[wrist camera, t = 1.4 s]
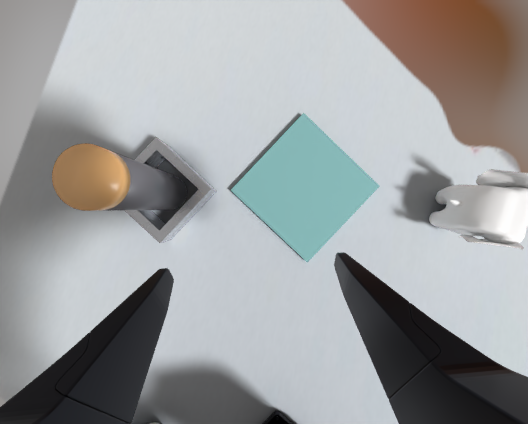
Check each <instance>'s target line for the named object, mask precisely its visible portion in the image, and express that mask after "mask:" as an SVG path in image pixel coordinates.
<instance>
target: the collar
mask: <svg viewBox="0 0 528 424" xmlns="http://www.w3.org/2000/svg"><path fill="white" fill-rule="evenodd" d="M165 159H167V160H168V161H169V162H170V163H171V164H172V165H173V166H175V167H176V168H177V169H178V170H179V171H180V172H181V173H182V174H183V175H184V176H185V177H186V178H187V179H188V180H189V181H191V182H192V183H193V184H194V185H195V186H196V187H197V188H198V191H197V192H196V193H195V194H194V195H193V196H192V197H191V198H190V199H189V200H188V201H187V202H186V203H185V204H184V205H183V206H182V207H181V209H180V210H179V211H178V212H177V213H176V214H175V215H174V216H173V217H172V218H171V219H170V220H169V221H168V222H167V223H166V224H165V223H164V222H163V221H162V220H161V219H160V218H159V217H158V216H157V215H155V214H154V213H153V212H152V211H151V210H125V211H126V212H127V213H128V214H129V215H130V216H131V217H132V218H133V219H134V220H135V221H136V222H137V223H139V224H140V225H141V226H142V227H143V228H144V229H145V230H146V231H147V232H148V233H149V234H150V235H151V236H153V237H154V238H155V239H156V240H157V241H158V242H159V243H162V242H165V241H168V240H171V239H172V238H173V237H174V236H175V235H176V234H177V233H178V232H179V231H180V230H181V228H182V227H183V226H184V225H185V224H186V223H187V222H188V221H189V220H190V219H191V218H192V217H193V216H194V215H195V214H196V213H197V212H198V210H199V209H200V208H201V207H202V206H203V205H204V204H205V203H206V202H207V201H208V200H209V199H210V198H211V197H212V196H213V195H214V194H215V192H216V190H215V189H214V188H213V187H212V186H211V185H210V184H209V183H208V182H207V181H206V180H205V179H203V178H202V177H201V176H200V175H199V174H198V173H197V172H196V171H195V170H194V169H193V168H192V167H191V166H190V165H189V164H188V163H186V162H185V161H184V160H183V159H182V158H181V157H180V156H179V155H178V154H177V153H176V152H175V151H174V150H173V149H172V148H171V147H169V146H168V145H167V144H166V143H164V142H163V141H161V140H160V139H159V138H157V137H155V138H154V140H153V141H152V142H151V143H150V144H149V145H148V146H147V147H146V148H145V149H144V150H143V151H142V152H141V153H140V154H139V155H138V156H137V158H136V159H135V160H136V161H138V162H141V163H143V164H146V165H149V166H151V167H154V168H157V167H158V166H159V165H160V164H161V163H162V162H163V161H164V160H165Z"/></svg>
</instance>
